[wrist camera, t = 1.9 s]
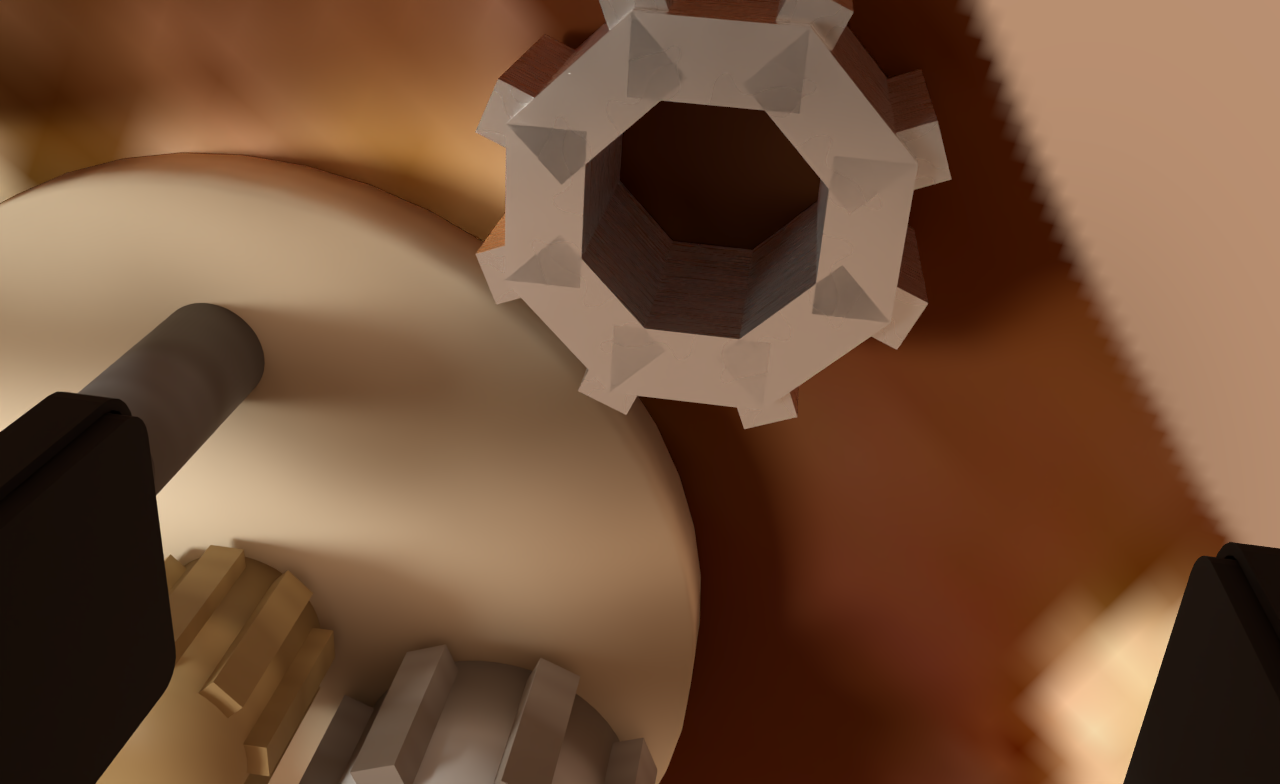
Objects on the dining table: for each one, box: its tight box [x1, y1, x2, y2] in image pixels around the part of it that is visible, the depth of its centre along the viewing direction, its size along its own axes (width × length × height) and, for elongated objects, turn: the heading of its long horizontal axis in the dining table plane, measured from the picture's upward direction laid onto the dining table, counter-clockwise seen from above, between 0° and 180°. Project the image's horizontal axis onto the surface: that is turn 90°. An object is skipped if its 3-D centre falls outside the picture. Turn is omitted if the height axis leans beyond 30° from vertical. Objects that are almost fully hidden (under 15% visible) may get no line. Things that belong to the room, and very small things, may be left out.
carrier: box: [0, 153, 701, 784], centre depth 24 cm, size 19×19×7 cm
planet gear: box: [476, 0, 952, 429], centre depth 20 cm, size 7×7×4 cm
